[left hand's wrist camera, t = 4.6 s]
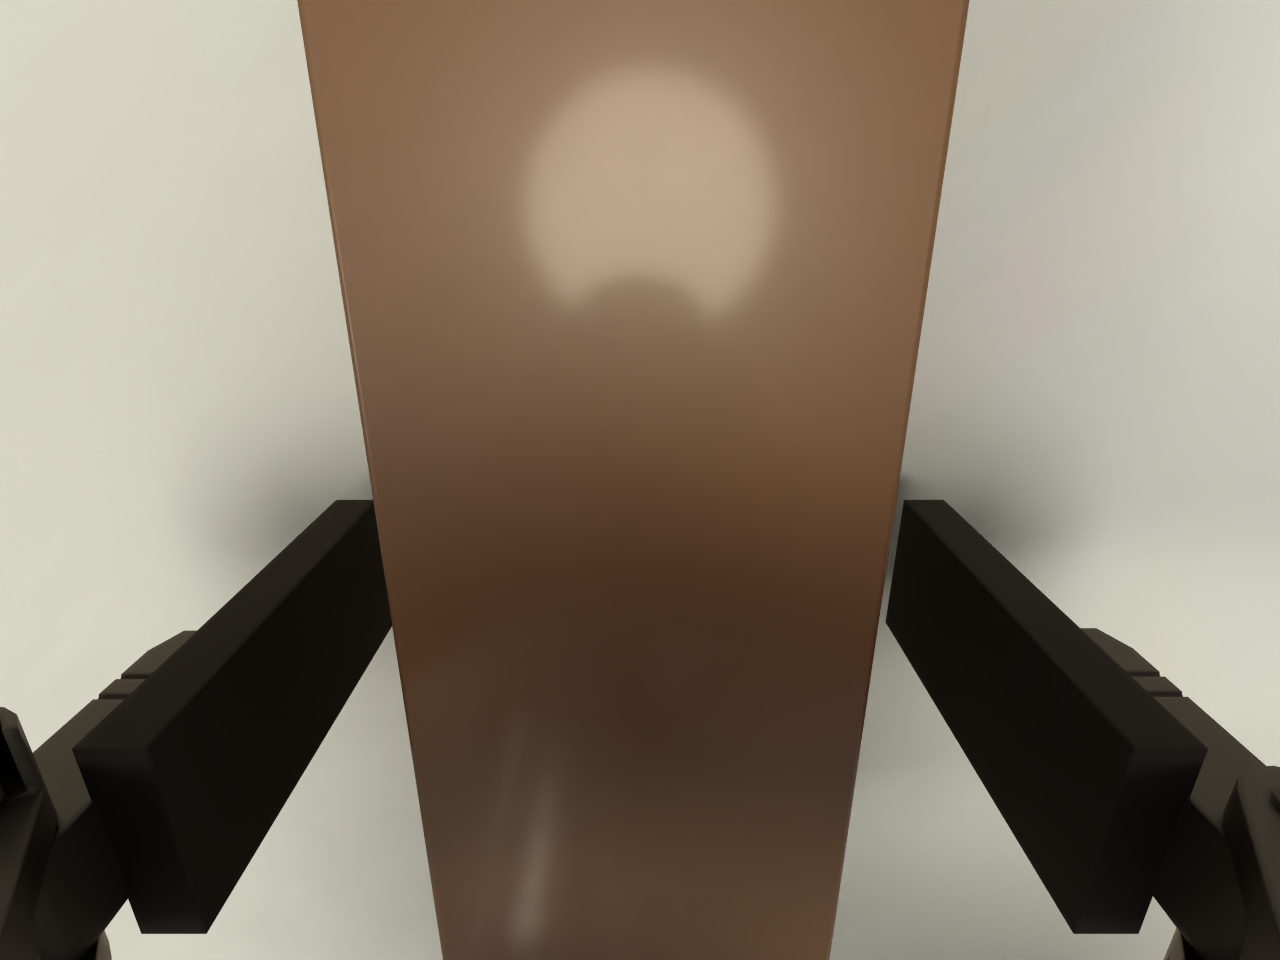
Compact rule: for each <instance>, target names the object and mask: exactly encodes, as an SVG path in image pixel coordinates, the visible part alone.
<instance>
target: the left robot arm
mask: <svg viewBox="0 0 1280 960" xmlns="http://www.w3.org/2000/svg"><path fill="white" fill-rule="evenodd" d="M886 623H887V625H888V627H889V628H890V630H891V632H892V633H893V635H894V637H895V638H896V640H897V642H898V643H899V645H900V647H901V648H902V650H903V652H904V653H905V655H906V657H907V658H908V660H909V662H910V663H911V665H912V667H913V668H914V670H915V672H916V673H917V675H918V677H919V678H920V680H921V682H922V683H923V685H924V686H925V688H926V690H927V691H928V693H929V695H930V696H931V698H932V700H933V701H934V703H935V705H936V706H937V708H938V710H939V711H940V713H941V715H942V716H943V718H944V720H945V721H946V723H947V725H948V726H949V728H950V730H951V731H952V733H953V735H954V736H955V738H956V740H957V741H958V743H959V745H960V746H961V748H962V749H963V751H964V753H965V754H966V756H967V758H968V759H969V761H970V763H971V764H972V766H973V768H974V769H975V771H976V773H977V774H978V776H979V778H980V779H981V781H982V783H983V784H984V786H985V788H986V789H987V791H988V793H989V794H990V796H991V798H992V799H993V801H994V803H995V804H996V806H997V808H998V809H999V811H1000V813H1001V814H1002V816H1003V817H1004V819H1005V821H1006V822H1007V824H1008V826H1009V827H1010V829H1011V831H1012V832H1013V834H1014V836H1015V837H1016V839H1017V841H1018V842H1019V844H1020V846H1021V847H1022V849H1023V851H1024V852H1025V854H1026V856H1027V857H1028V859H1029V861H1030V862H1031V864H1032V866H1033V867H1034V869H1035V871H1036V872H1037V874H1038V876H1039V877H1040V879H1041V880H1042V882H1043V884H1044V885H1045V887H1046V889H1047V890H1048V892H1049V894H1050V895H1051V897H1052V899H1053V900H1054V902H1055V904H1056V905H1057V907H1058V909H1059V910H1060V912H1061V914H1062V915H1063V917H1064V919H1065V920H1066V922H1067V924H1068V925H1069V927H1070V929H1071V930H1072V932H1073V934H1139V931H1140V928H1141V926H1142V923H1143V920H1144V918H1145V915H1146V912H1147V910H1148V907H1149V904H1150V902H1151V899H1152V897H1153V896H1154V898H1155V899H1156V900H1157V902H1158V903H1159V904H1160V906H1161V907H1162V908H1163V910H1164V911H1165V912H1166V914H1167V915H1168V916H1169V918H1170V919H1171V920H1172V922H1173V923H1174V924H1175V926H1176V927H1177V928H1176V931H1175V933H1174V936H1173V938H1172V941H1171V943H1170V946H1169V948H1168V951H1167V953H1166V955H1165V958H1164V960H1280V767H1276V766H1266V765H1265V764H1263V763H1262V762H1261V761H1260V760H1259V759H1258V758H1257V757H1255V756H1254V755H1253V754H1252V753H1251V752H1250V751H1249V750H1247V749H1246V748H1245V747H1244V746H1243V745H1242V744H1241V743H1240V742H1238V741H1237V740H1236V739H1235V738H1234V737H1233V736H1232V735H1230V734H1229V733H1228V732H1227V731H1226V730H1225V729H1224V728H1222V727H1221V726H1220V725H1219V724H1218V723H1217V722H1216V721H1215V720H1213V719H1212V718H1211V717H1210V716H1209V715H1208V714H1207V713H1205V712H1204V711H1203V710H1202V709H1201V708H1200V707H1199V706H1198V705H1196V704H1195V703H1194V702H1193V701H1192V700H1191V699H1190V698H1188V697H1183V696H1182V691H1180V690H1179V689H1178V688H1177V687H1176V686H1175V685H1174V684H1173V683H1171V682H1170V681H1169V680H1168V679H1167V678H1166V677H1160V674H1159V671H1158V670H1157V669H1155V668H1154V667H1153V666H1152V665H1151V664H1150V663H1149V662H1148V661H1146V660H1145V659H1144V658H1143V657H1142V656H1141V655H1140V654H1138V653H1137V652H1136V651H1135V650H1134V649H1133V648H1131V647H1129V646H1127V645H1126V644H1124V643H1122V642H1120V641H1118V640H1116V639H1115V638H1113V637H1111V636H1109V635H1107V634H1106V633H1104V632H1102V631H1100V630H1098V629H1096V628H1079V627H1078V626H1077V625H1076V624H1075V623H1074V622H1073V621H1072V620H1071V619H1070V618H1069V617H1067V616H1066V615H1065V614H1064V613H1063V612H1062V611H1061V610H1060V609H1059V608H1058V607H1057V606H1056V605H1055V604H1054V603H1053V602H1052V601H1050V600H1049V599H1048V598H1047V597H1046V596H1045V595H1044V594H1043V593H1042V592H1041V591H1040V590H1039V589H1038V588H1037V587H1036V586H1035V585H1033V584H1032V583H1031V582H1030V581H1029V580H1028V579H1027V578H1026V577H1025V576H1024V575H1023V574H1022V573H1021V572H1020V571H1019V570H1017V569H1016V568H1015V567H1014V566H1013V565H1012V564H1011V563H1010V562H1009V561H1008V560H1007V559H1006V558H1005V557H1004V556H1003V555H1002V554H1000V553H999V552H998V551H997V550H996V549H995V548H994V547H993V546H992V545H991V544H990V543H989V542H988V541H987V540H986V539H985V538H983V537H982V536H981V535H980V534H979V533H978V532H977V531H976V530H975V529H974V528H973V527H972V526H971V525H970V524H969V523H967V522H966V521H965V520H964V519H963V518H962V517H961V516H960V515H959V514H958V513H957V512H956V511H955V510H954V509H953V508H952V507H950V506H949V505H948V504H947V503H946V502H945V501H944V500H904V504H903V510H902V517H901V524H900V530H899V537H898V543H897V550H896V557H895V563H894V570H893V577H892V583H891V590H890V596H889V603H888V610H887V616H886ZM391 627H392V620H391V613H390V606H389V600H388V593H387V587H386V580H385V574H384V567H383V560H382V554H381V547H380V541H379V534H378V527H377V521H376V514H375V508H374V501H373V500H336V501H335V502H334V503H333V504H332V505H331V506H330V507H328V508H327V509H326V510H325V511H324V512H323V513H322V514H321V515H320V516H319V517H318V518H317V519H316V520H315V521H314V522H313V523H311V524H310V525H309V526H308V527H307V528H306V529H305V530H304V531H303V532H302V533H301V534H300V535H299V536H298V537H297V538H295V539H294V540H293V541H292V542H291V543H290V544H289V545H288V546H287V547H286V548H285V549H284V550H283V551H282V552H281V553H280V554H278V555H277V556H276V557H275V558H274V559H273V560H272V561H271V562H270V563H269V564H268V565H267V566H266V567H265V568H264V569H263V570H261V571H260V572H259V573H258V574H257V575H256V576H255V577H254V578H253V579H252V580H251V581H250V582H249V583H248V584H247V585H245V586H244V587H243V588H242V589H241V590H240V591H239V592H238V593H237V594H236V595H235V596H234V597H233V598H232V599H231V600H230V601H228V602H227V603H226V604H225V605H224V606H223V607H222V608H221V609H220V610H219V611H218V612H217V613H216V614H215V615H214V616H212V617H211V618H210V619H209V620H208V621H207V622H206V623H205V624H204V625H203V626H202V627H201V628H200V629H199V630H198V631H183V632H181V633H179V634H178V635H176V636H174V637H172V638H170V639H169V640H167V641H165V642H163V643H161V644H159V645H158V646H156V647H154V648H152V649H150V650H149V651H147V652H146V653H145V654H144V655H143V656H142V657H141V658H139V659H138V660H137V661H136V662H135V663H134V664H133V665H132V666H130V667H129V668H128V669H127V670H126V671H125V672H124V673H122V674H121V679H116V680H115V681H113V682H112V683H111V684H110V685H109V686H108V687H107V688H106V689H104V690H103V691H102V692H101V693H100V694H99V698H98V700H92V701H91V702H90V703H89V704H88V705H86V706H85V707H84V708H83V709H82V710H81V711H80V712H78V713H77V714H76V715H75V716H74V717H73V718H72V719H71V720H69V721H68V722H67V723H66V724H65V725H64V726H63V727H62V728H60V729H59V730H58V731H57V732H56V733H55V734H54V735H53V736H51V737H50V738H49V739H48V740H47V741H46V742H45V743H44V744H42V745H41V746H40V747H39V748H38V749H37V750H36V751H34V752H33V753H32V751H31V748H30V746H29V743H28V741H27V738H26V736H25V733H24V731H23V729H22V726H21V724H20V721H19V719H18V716H17V714H15V713H13V712H11V711H10V710H8V709H6V708H4V707H0V960H111V958H112V957H111V951H110V945H109V941H108V938H107V936H106V933H105V931H104V930H105V928H106V927H107V926H108V924H109V923H110V922H111V920H112V919H113V918H114V916H115V915H116V914H117V912H118V911H119V910H120V908H121V907H122V906H123V904H124V903H125V902H126V900H127V899H129V902H130V905H131V907H132V910H133V912H134V915H135V918H136V920H137V923H138V926H139V928H140V931H141V934H207V932H208V930H209V929H210V927H211V925H212V924H213V922H214V920H215V919H216V917H217V915H218V914H219V912H220V910H221V909H222V907H223V905H224V904H225V902H226V900H227V899H228V897H229V895H230V894H231V892H232V890H233V889H234V887H235V885H236V884H237V882H238V880H239V879H240V877H241V875H242V874H243V872H244V871H245V869H246V867H247V866H248V864H249V862H250V861H251V859H252V857H253V856H254V854H255V852H256V851H257V849H258V847H259V846H260V844H261V842H262V841H263V839H264V837H265V836H266V834H267V832H268V831H269V829H270V827H271V826H272V824H273V822H274V821H275V819H276V817H277V816H278V814H279V812H280V811H281V809H282V808H283V806H284V804H285V803H286V801H287V799H288V798H289V796H290V794H291V793H292V791H293V789H294V788H295V786H296V784H297V783H298V781H299V779H300V778H301V776H302V774H303V773H304V771H305V769H306V768H307V766H308V764H309V763H310V761H311V759H312V758H313V756H314V754H315V753H316V751H317V749H318V748H319V746H320V744H321V743H322V741H323V740H324V738H325V736H326V735H327V733H328V731H329V730H330V728H331V726H332V725H333V723H334V721H335V720H336V718H337V716H338V715H339V713H340V711H341V710H342V708H343V706H344V705H345V703H346V701H347V700H348V698H349V696H350V695H351V693H352V691H353V690H354V688H355V686H356V685H357V683H358V681H359V680H360V678H361V677H362V675H363V673H364V672H365V670H366V668H367V667H368V665H369V663H370V662H371V660H372V658H373V657H374V655H375V653H376V652H377V650H378V648H379V647H380V645H381V643H382V642H383V640H384V638H385V637H386V635H387V633H388V632H389V630H390V628H391Z"/></svg>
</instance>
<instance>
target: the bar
mask: <svg viewBox="0 0 1280 960" xmlns="http://www.w3.org/2000/svg"><path fill="white" fill-rule="evenodd" d="M297 1H298V7H299V14H300V21H301V27H302V34H303V40H304V47H305V53H306V60H307V67H308V73H309V80H310V86H311V93H312V100H313V106H314V113H315V119H316V126H317V132H318V139H319V146H320V152H321V159H322V165H323V172H324V179H325V185H326V192H327V198H328V205H329V211H330V218H331V225H332V231H333V238H334V244H335V251H336V258H337V264H338V271H339V277H340V284H341V290H342V297H343V304H344V310H345V317H346V323H347V330H348V337H349V343H350V350H351V356H352V363H353V369H354V376H355V383H356V389H357V396H358V402H359V409H360V416H361V422H362V429H363V435H364V442H365V448H366V455H367V462H368V468H369V475H370V481H371V488H372V495H373V501H374V508H375V514H376V521H377V527H378V534H379V541H380V547H381V554H382V560H383V567H384V574H385V580H386V587H387V593H388V600H389V606H390V613H391V620H392V626H393V633H394V639H395V646H396V653H397V659H398V666H399V672H400V679H401V685H402V692H403V699H404V705H405V712H406V718H407V725H408V732H409V738H410V745H411V751H412V758H413V764H414V771H415V778H416V784H417V791H418V797H419V804H420V810H421V817H422V824H423V830H424V837H425V843H426V850H427V857H428V863H429V870H430V876H431V883H432V889H433V896H434V903H435V909H436V916H437V922H438V929H439V936H440V942H441V949H442V955H443V960H829V958H830V951H831V944H832V937H833V930H834V923H835V917H836V910H837V903H838V896H839V889H840V882H841V876H842V869H843V862H844V855H845V848H846V841H847V834H848V828H849V821H850V814H851V807H852V800H853V793H854V786H855V780H856V773H857V766H858V759H859V752H860V745H861V739H862V732H863V725H864V718H865V711H866V704H867V697H868V691H869V684H870V677H871V670H872V663H873V656H874V650H875V643H876V636H877V629H878V622H879V615H880V608H881V602H882V595H883V588H884V581H885V574H886V567H887V560H888V554H889V547H890V540H891V533H892V526H893V519H894V513H895V506H896V499H897V492H898V485H899V478H900V471H901V465H902V458H903V451H904V444H905V437H906V430H907V423H908V417H909V410H910V403H911V396H912V389H913V382H914V376H915V369H916V362H917V355H918V348H919V341H920V334H921V328H922V321H923V314H924V307H925V300H926V293H927V287H928V280H929V273H930V266H931V259H932V252H933V245H934V239H935V232H936V225H937V218H938V211H939V204H940V197H941V191H942V184H943V177H944V170H945V163H946V156H947V150H948V143H949V136H950V129H951V122H952V115H953V108H954V102H955V95H956V88H957V81H958V74H959V67H960V61H961V54H962V47H963V40H964V33H965V26H966V19H967V13H968V6H969V0H297Z"/></svg>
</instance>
